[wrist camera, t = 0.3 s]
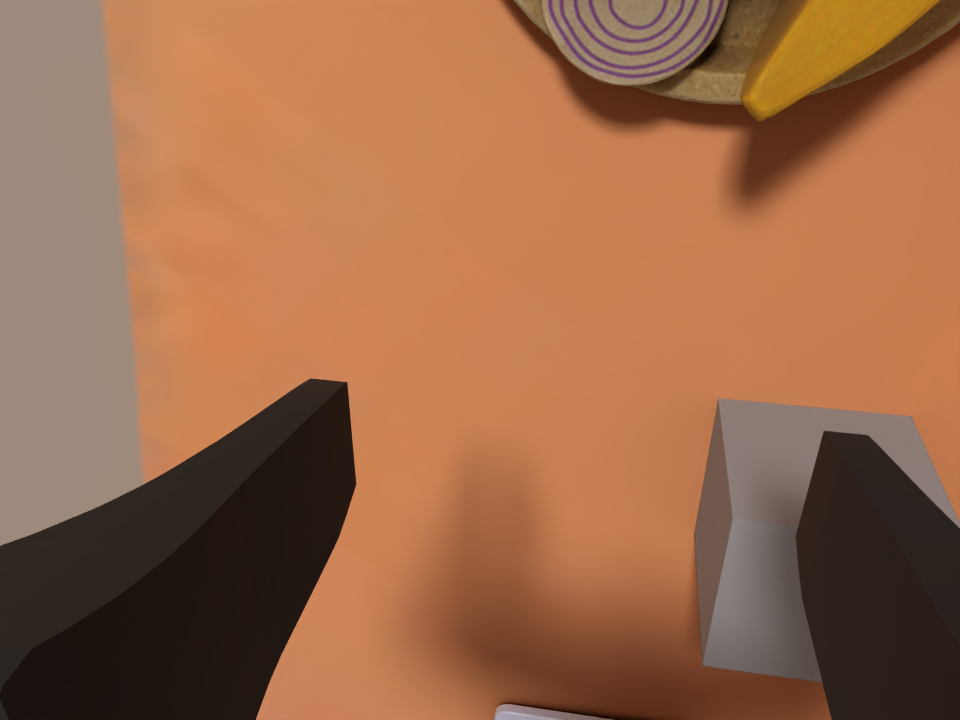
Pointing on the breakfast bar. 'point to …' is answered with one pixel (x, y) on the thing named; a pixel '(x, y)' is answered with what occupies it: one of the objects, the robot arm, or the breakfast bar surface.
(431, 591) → the breakfast bar surface
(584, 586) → the breakfast bar surface
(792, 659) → the grey cube
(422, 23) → the breakfast bar surface
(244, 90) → the breakfast bar surface
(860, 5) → the toy sandwich meal
